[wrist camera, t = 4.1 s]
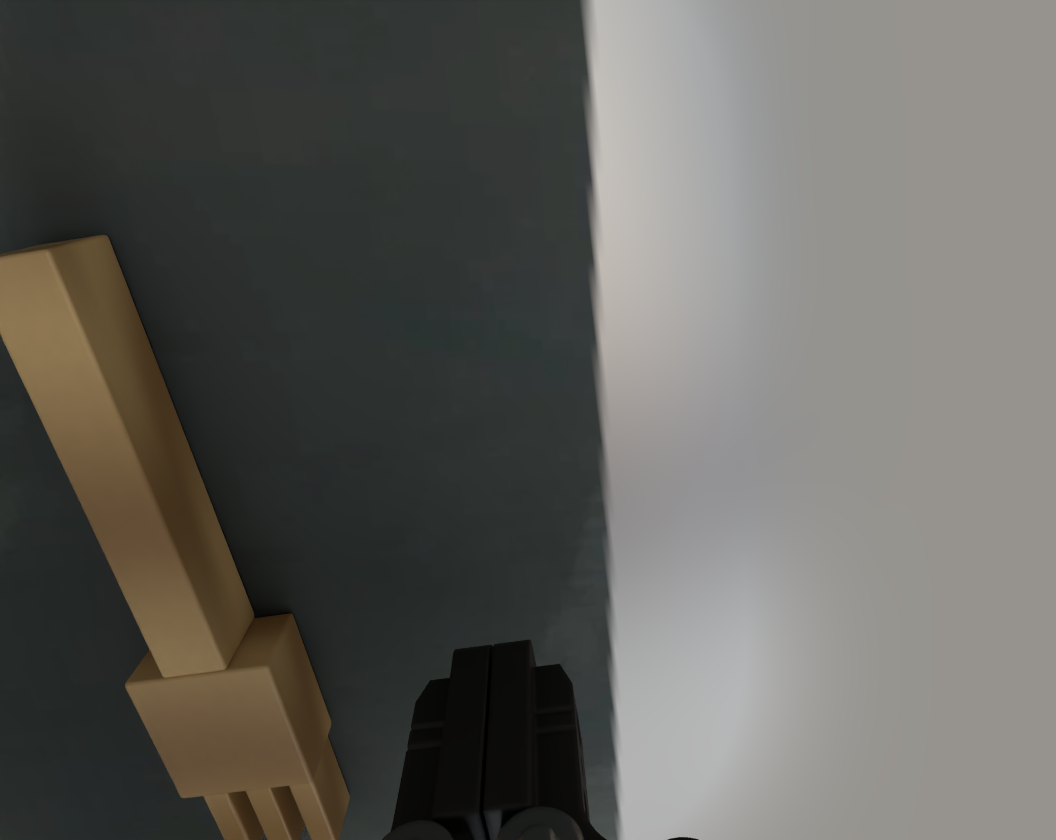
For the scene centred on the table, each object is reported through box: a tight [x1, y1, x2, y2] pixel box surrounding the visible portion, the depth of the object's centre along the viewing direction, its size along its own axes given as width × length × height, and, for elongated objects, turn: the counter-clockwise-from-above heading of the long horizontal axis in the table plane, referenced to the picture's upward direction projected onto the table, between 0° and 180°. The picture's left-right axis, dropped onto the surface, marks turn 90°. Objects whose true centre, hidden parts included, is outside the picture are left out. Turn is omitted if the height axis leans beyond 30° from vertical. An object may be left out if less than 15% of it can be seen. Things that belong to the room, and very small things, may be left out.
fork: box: [0, 235, 350, 840], centre depth 17 cm, size 17×4×2 cm, turn 9°
